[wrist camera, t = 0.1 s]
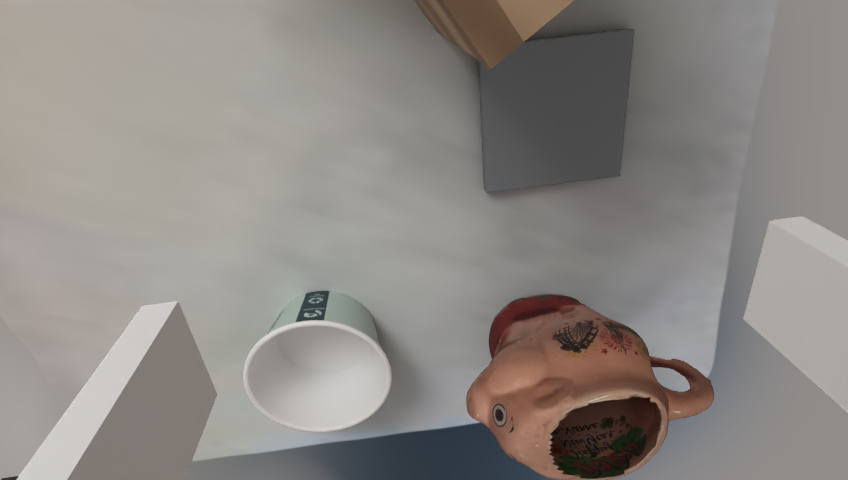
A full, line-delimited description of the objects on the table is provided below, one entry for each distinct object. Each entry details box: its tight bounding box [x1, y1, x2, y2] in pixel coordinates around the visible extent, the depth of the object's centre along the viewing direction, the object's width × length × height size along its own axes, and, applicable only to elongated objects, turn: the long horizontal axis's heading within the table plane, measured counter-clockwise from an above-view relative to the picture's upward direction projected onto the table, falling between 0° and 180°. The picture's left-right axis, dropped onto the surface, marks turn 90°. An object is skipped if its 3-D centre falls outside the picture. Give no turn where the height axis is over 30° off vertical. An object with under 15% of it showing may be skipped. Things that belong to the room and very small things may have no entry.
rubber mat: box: [479, 29, 634, 193], centre depth 37 cm, size 11×11×1 cm
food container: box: [243, 291, 392, 432], centre depth 42 cm, size 12×12×6 cm
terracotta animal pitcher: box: [466, 294, 714, 480], centre depth 41 cm, size 20×12×14 cm, turn 99°
